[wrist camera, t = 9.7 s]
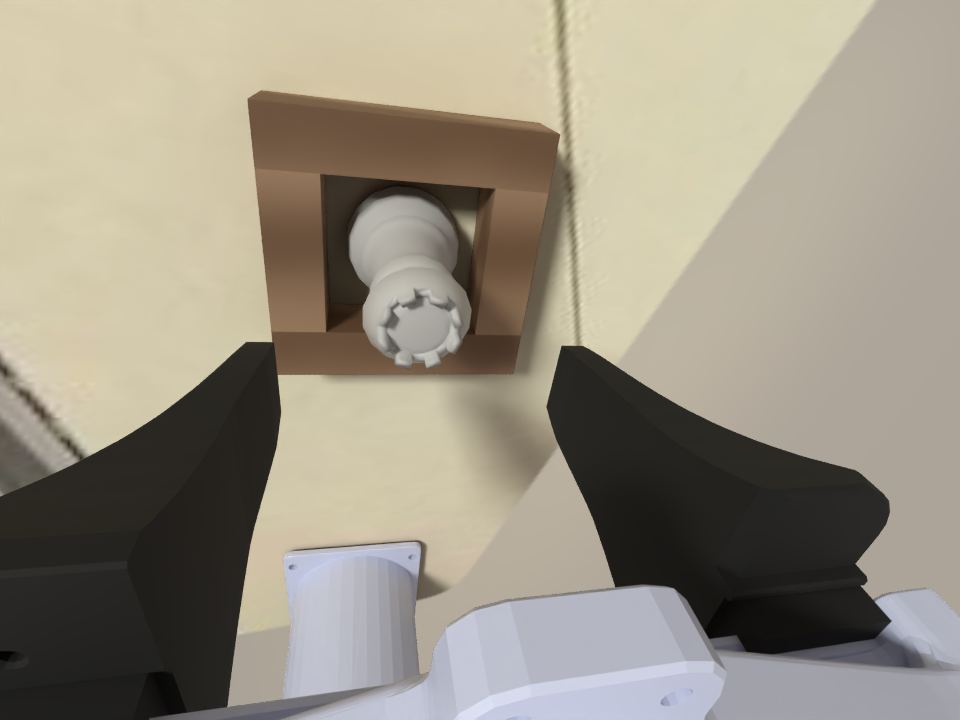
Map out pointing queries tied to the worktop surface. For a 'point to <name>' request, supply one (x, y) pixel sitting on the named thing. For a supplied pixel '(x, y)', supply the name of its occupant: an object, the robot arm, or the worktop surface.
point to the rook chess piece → (409, 276)
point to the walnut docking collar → (404, 157)
